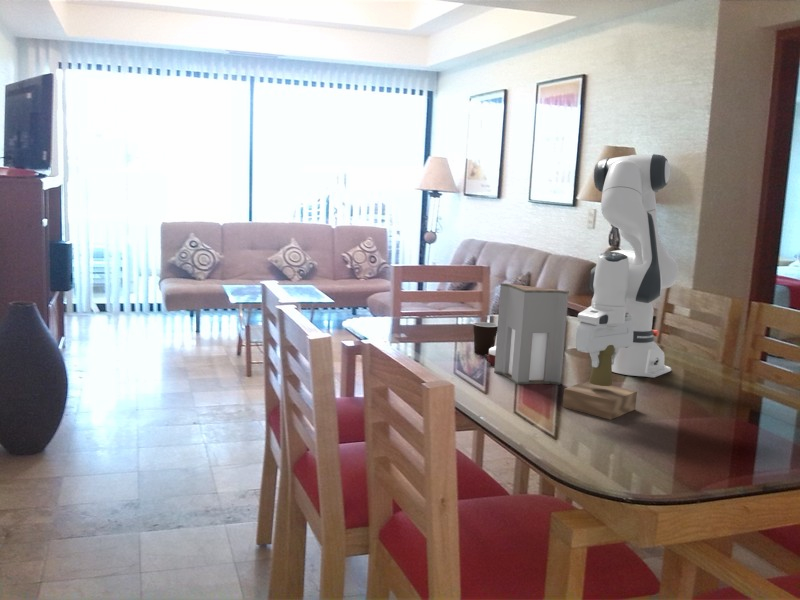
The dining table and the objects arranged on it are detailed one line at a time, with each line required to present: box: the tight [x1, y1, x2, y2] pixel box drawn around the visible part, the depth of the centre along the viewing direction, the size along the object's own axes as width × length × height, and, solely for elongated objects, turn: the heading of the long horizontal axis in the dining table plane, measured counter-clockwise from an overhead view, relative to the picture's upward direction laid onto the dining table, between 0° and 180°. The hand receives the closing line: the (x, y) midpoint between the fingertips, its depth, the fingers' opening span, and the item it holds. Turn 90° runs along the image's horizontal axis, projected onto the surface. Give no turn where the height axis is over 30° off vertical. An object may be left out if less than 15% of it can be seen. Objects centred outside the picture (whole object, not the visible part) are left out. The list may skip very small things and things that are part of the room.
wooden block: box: [562, 380, 638, 421], centre depth 204 cm, size 14×14×5 cm
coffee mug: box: [472, 321, 498, 356], centre depth 264 cm, size 12×9×10 cm
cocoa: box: [485, 345, 496, 366], centre depth 247 cm, size 10×6×12 cm, turn 96°
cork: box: [588, 345, 615, 386], centre depth 202 cm, size 6×6×11 cm
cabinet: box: [493, 282, 570, 386], centre depth 227 cm, size 21×10×28 cm, turn 59°
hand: (602, 365), depth 202 cm, fingers closed on cork, 4 cm apart
